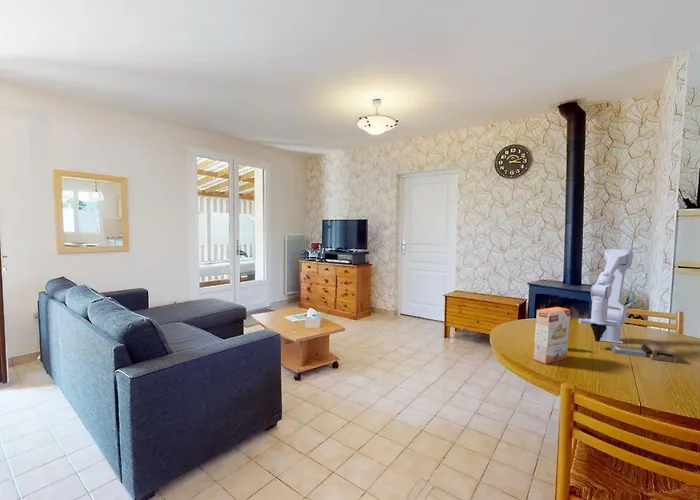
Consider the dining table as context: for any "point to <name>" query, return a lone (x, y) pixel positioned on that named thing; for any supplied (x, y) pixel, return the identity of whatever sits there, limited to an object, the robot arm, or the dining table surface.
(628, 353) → the tile
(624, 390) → the dining table surface
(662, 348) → the shelf
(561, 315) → the cracker box
